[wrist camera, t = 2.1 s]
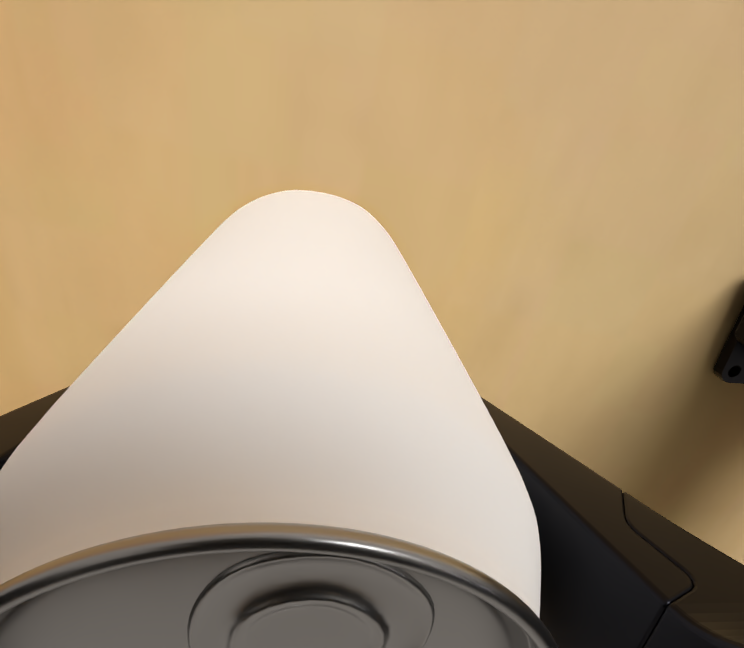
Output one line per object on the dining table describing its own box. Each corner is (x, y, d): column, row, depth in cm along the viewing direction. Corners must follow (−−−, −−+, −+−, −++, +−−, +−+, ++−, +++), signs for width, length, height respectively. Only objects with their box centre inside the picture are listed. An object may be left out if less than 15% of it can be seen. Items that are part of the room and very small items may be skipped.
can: (436, 229, 14) (781, 585, 4) (363, 394, 17) (438, 914, 6) (231, 152, 13) (-259, 355, 2) (182, 345, 15) (-168, 920, 4)
